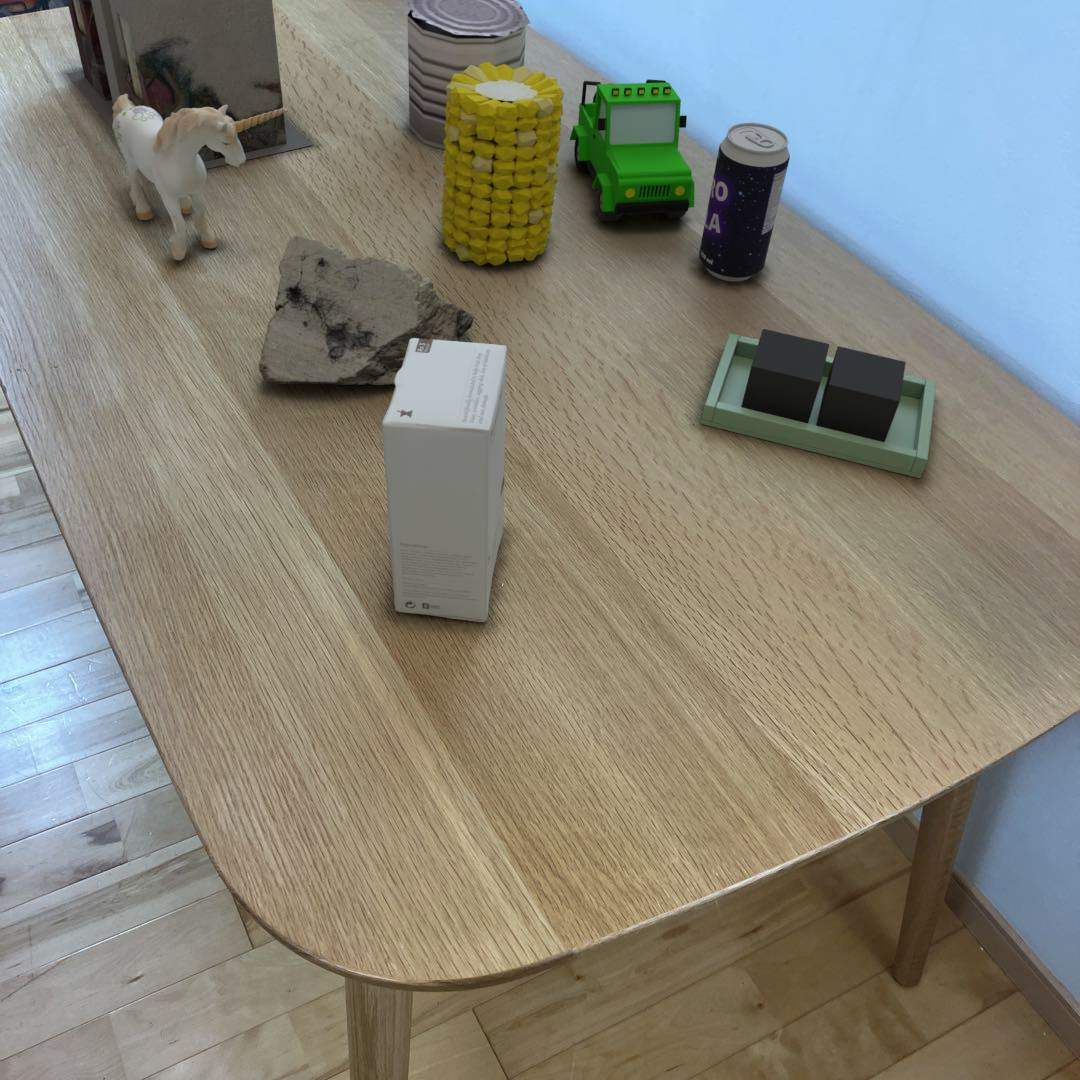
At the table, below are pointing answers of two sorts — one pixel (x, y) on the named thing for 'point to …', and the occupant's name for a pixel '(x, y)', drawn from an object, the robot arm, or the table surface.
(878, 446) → the tray
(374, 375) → the stone
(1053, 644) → the table surface
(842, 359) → the black cube
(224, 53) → the bookend
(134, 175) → the unicorn figurine
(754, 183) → the beverage can
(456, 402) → the cosmetic box
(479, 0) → the can
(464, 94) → the food
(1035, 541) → the table surface
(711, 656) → the table surface
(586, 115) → the toy car
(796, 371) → the black block
